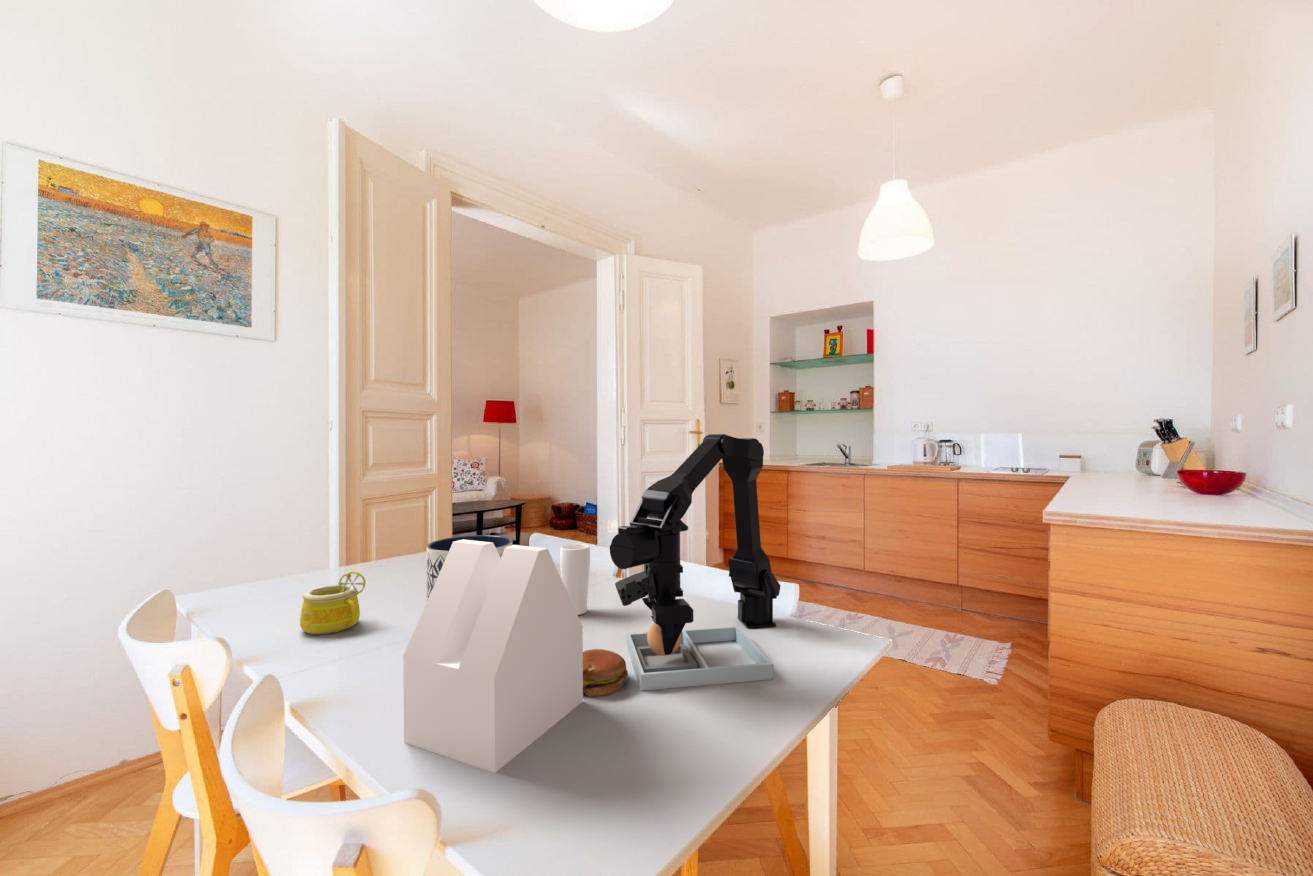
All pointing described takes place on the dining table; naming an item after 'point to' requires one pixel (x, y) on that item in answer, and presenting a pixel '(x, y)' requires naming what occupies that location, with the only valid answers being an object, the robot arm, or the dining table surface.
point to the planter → (440, 550)
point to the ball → (658, 640)
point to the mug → (331, 607)
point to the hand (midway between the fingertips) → (664, 647)
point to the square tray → (665, 660)
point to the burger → (603, 672)
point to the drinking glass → (576, 573)
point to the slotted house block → (492, 655)
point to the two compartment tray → (702, 661)
